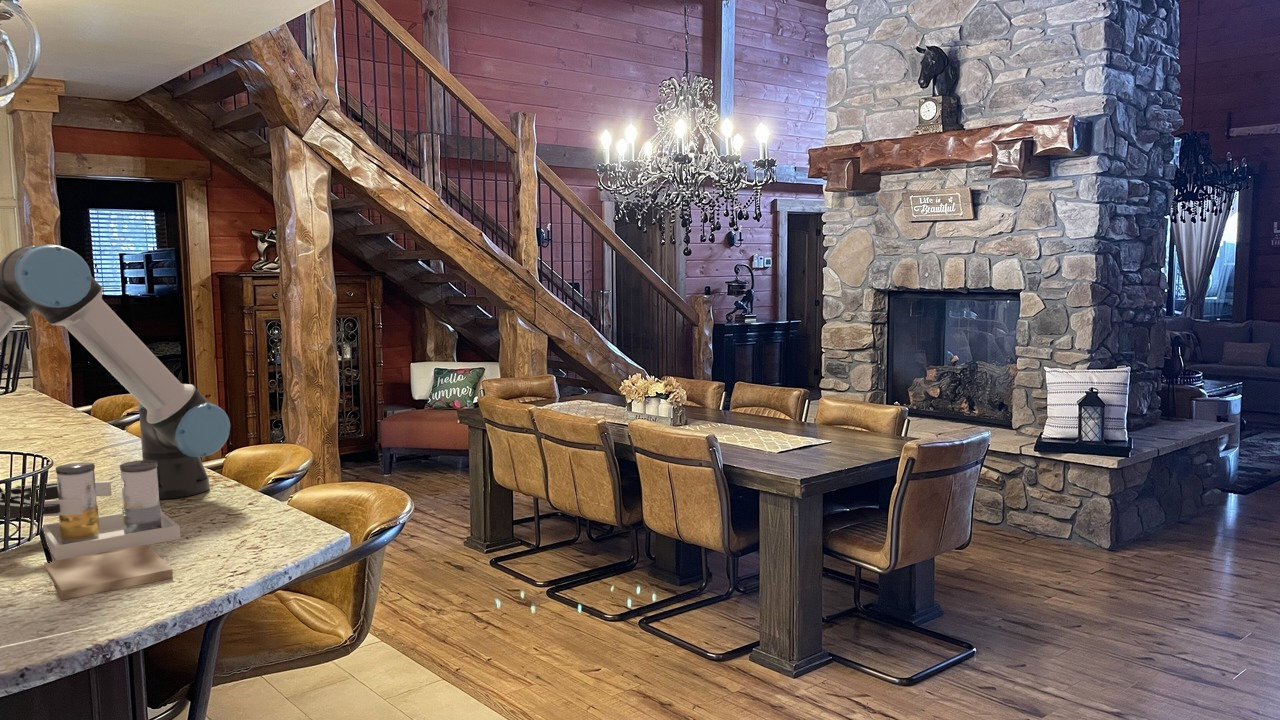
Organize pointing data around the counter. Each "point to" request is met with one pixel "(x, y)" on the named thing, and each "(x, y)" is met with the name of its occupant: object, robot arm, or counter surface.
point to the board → (107, 571)
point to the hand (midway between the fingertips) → (96, 497)
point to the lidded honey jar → (78, 485)
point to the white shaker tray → (110, 537)
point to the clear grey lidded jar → (140, 496)
